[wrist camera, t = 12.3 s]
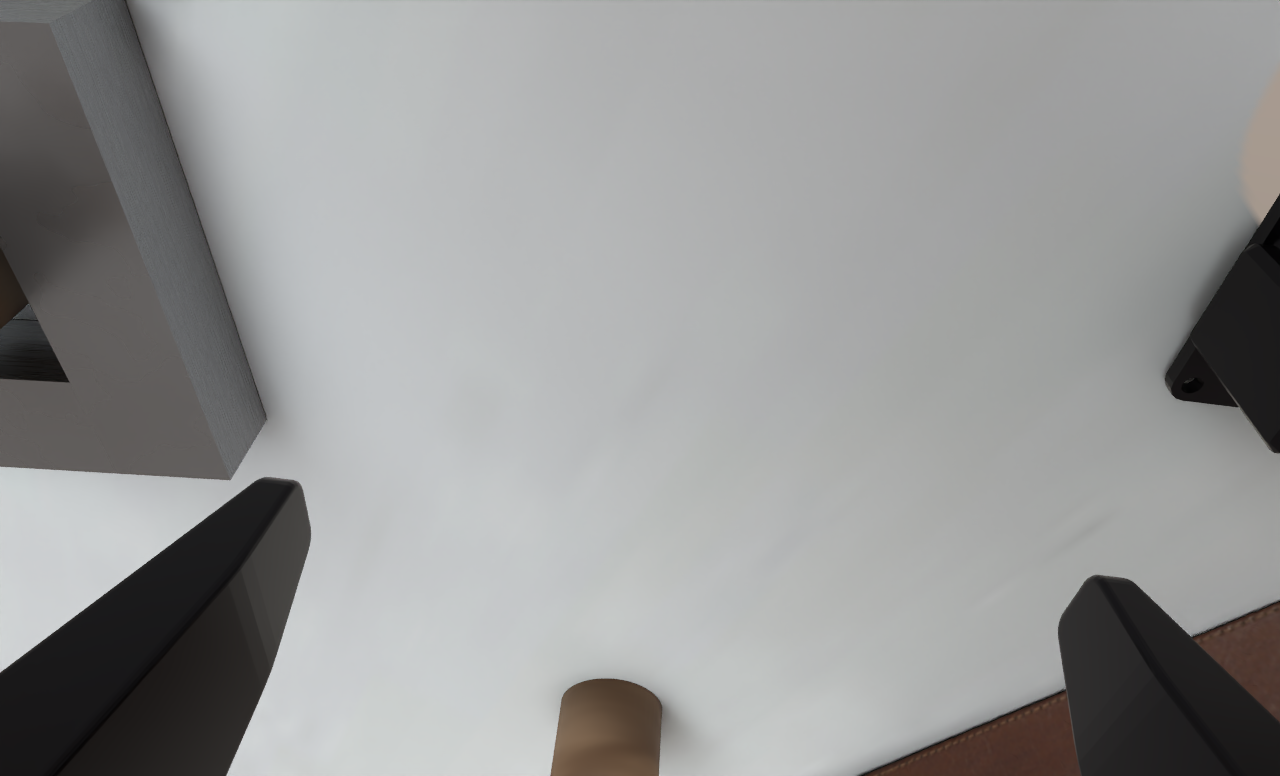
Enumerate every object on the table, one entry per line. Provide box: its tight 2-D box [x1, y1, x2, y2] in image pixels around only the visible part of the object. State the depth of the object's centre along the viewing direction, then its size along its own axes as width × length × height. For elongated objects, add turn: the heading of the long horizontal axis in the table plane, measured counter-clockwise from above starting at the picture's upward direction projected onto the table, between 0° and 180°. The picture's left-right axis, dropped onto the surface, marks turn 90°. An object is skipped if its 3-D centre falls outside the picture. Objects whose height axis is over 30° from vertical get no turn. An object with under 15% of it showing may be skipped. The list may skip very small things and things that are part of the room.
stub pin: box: [551, 679, 662, 776], centre depth 33 cm, size 4×4×5 cm
